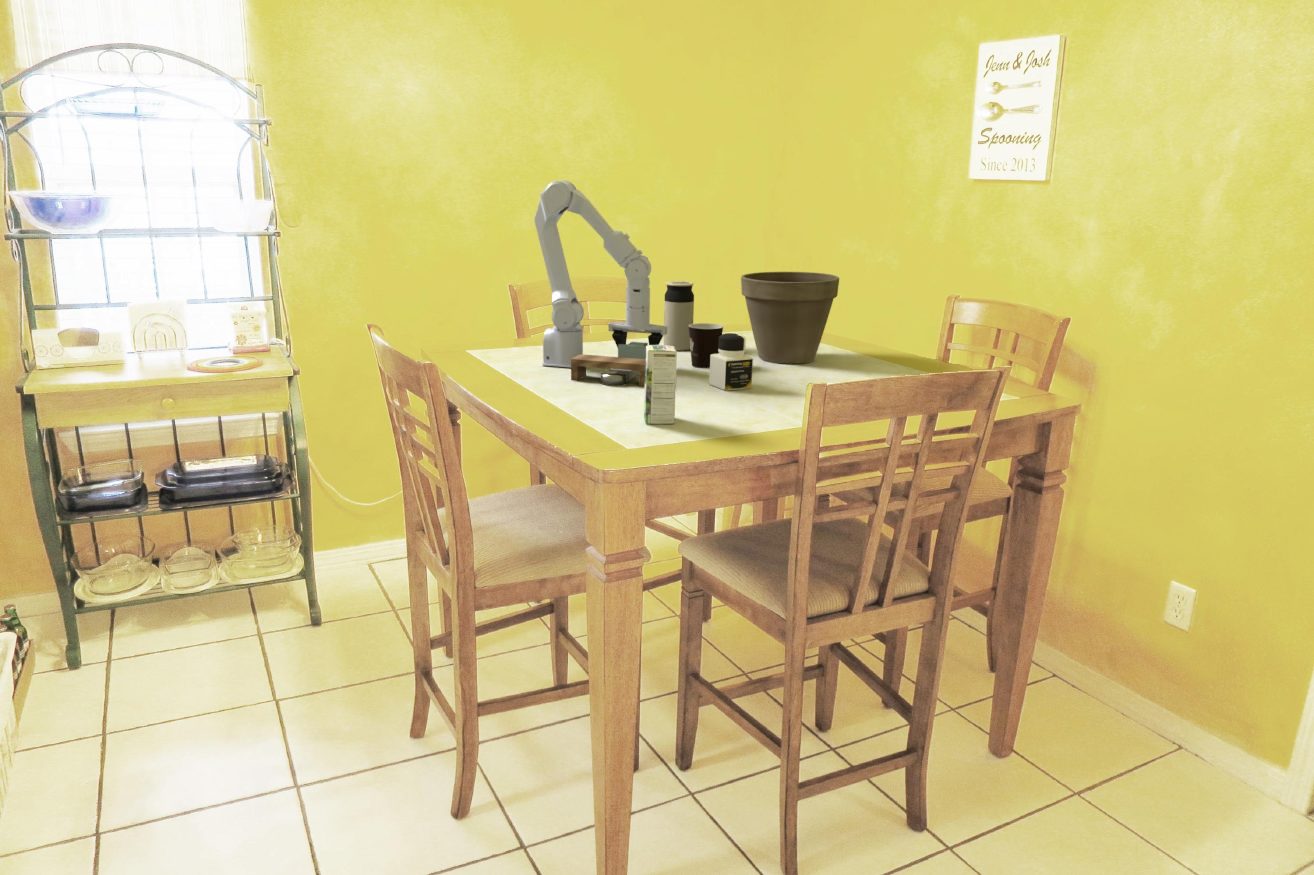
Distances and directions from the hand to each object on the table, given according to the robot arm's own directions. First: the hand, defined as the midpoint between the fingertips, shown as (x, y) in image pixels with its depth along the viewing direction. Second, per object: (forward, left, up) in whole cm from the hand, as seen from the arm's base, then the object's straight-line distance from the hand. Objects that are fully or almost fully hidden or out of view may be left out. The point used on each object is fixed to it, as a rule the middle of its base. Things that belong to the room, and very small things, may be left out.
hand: (637, 361), depth 225 cm
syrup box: (+19, -46, -2) cm, 50 cm away
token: (0, -18, -2) cm, 18 cm away
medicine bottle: (+26, -12, -2) cm, 29 cm away
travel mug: (+3, +28, -2) cm, 28 cm away
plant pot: (+33, +25, -2) cm, 41 cm away
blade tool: (0, -7, -1) cm, 7 cm away
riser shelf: (-1, -16, -1) cm, 16 cm away
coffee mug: (+15, +10, -2) cm, 18 cm away
